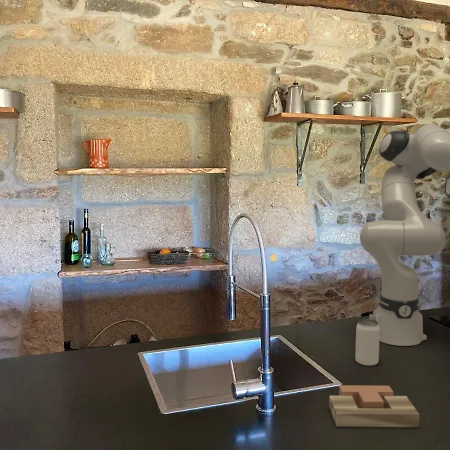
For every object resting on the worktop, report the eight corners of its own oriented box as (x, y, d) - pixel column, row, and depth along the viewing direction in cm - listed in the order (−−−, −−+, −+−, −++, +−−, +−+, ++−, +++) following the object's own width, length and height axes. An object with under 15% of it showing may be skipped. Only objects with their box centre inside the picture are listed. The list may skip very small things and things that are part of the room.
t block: (338, 401, 121) (339, 385, 121) (388, 401, 121) (388, 385, 120) (346, 418, 113) (347, 401, 112) (399, 418, 112) (400, 401, 112)
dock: (329, 407, 118) (329, 395, 117) (405, 408, 117) (406, 396, 117) (336, 426, 109) (336, 413, 109) (418, 427, 109) (419, 414, 108)
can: (379, 367, 141) (381, 326, 139) (355, 365, 142) (357, 324, 140) (377, 358, 147) (378, 319, 145) (354, 356, 148) (355, 317, 147)
